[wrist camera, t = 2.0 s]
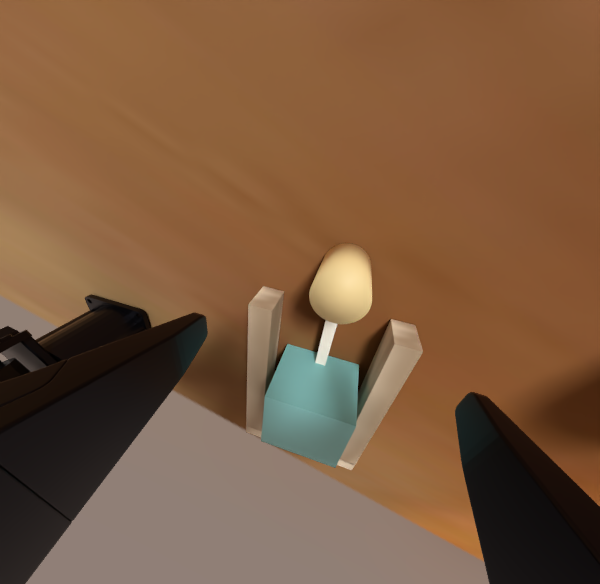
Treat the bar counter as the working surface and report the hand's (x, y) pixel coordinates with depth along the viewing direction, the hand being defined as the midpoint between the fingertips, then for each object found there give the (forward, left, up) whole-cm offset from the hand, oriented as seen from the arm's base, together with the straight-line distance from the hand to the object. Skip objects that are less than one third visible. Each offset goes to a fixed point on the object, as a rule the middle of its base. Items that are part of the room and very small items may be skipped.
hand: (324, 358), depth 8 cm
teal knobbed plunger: (0, -6, -8) cm, 10 cm away
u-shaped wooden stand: (0, -10, -8) cm, 13 cm away
